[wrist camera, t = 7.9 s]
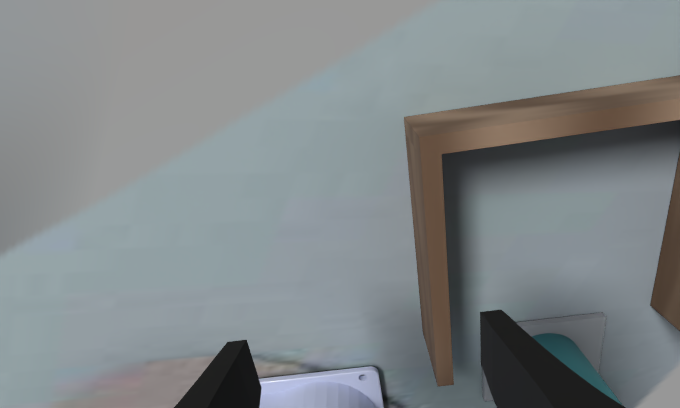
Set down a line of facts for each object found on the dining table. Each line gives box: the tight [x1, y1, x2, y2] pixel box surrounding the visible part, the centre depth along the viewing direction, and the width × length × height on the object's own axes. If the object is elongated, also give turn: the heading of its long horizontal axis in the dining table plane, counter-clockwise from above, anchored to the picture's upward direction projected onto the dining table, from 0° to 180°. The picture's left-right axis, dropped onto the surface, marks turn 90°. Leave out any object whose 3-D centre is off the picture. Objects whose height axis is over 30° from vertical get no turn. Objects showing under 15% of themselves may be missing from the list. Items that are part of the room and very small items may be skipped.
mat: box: [482, 312, 606, 401], centre depth 24 cm, size 7×6×1 cm
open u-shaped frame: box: [404, 75, 680, 386], centre depth 19 cm, size 14×13×4 cm
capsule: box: [532, 333, 623, 406], centre depth 21 cm, size 4×4×6 cm
